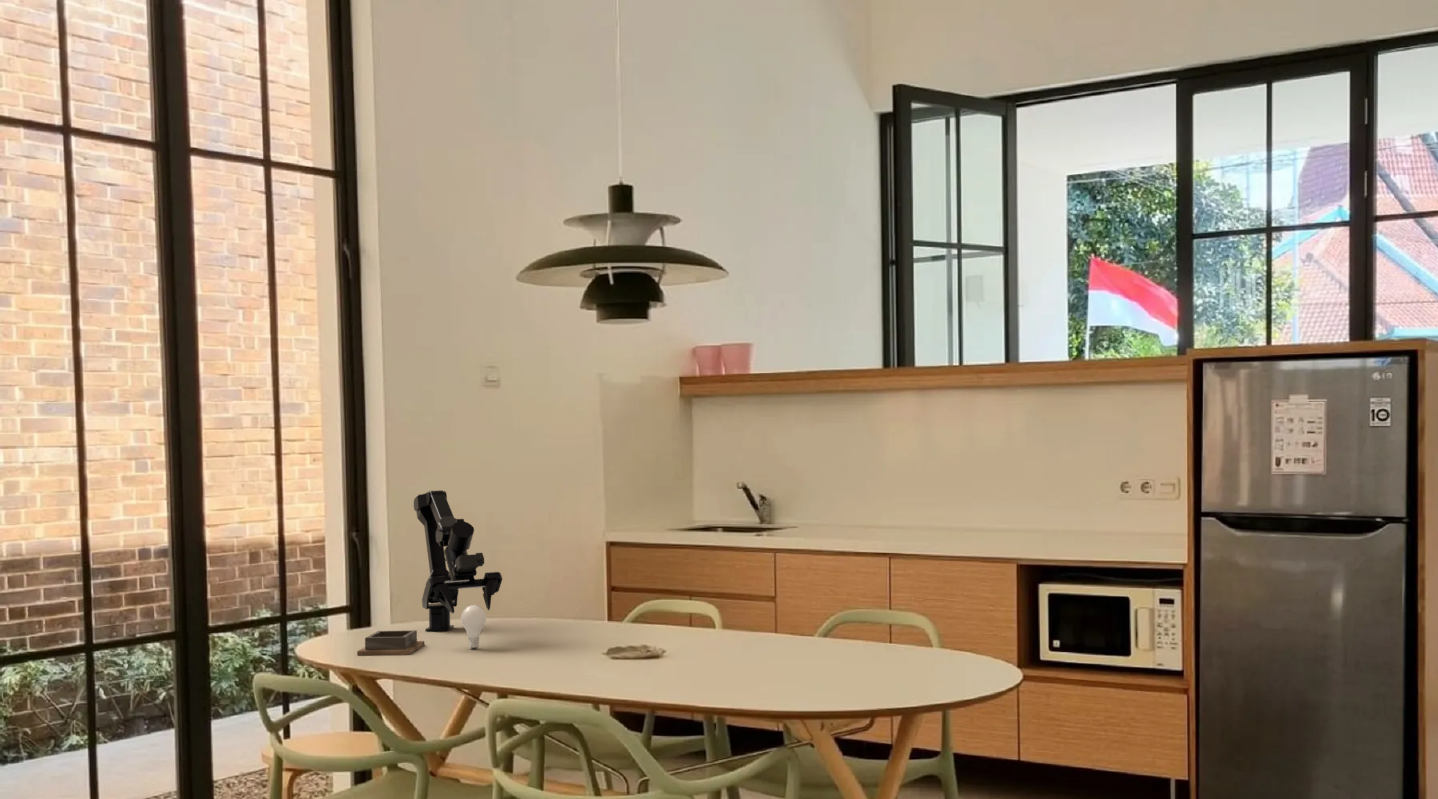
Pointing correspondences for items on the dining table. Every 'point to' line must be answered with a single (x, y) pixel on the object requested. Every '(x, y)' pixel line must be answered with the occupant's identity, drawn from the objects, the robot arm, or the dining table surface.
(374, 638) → the socket block
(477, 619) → the lightbulb
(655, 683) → the dining table surface
